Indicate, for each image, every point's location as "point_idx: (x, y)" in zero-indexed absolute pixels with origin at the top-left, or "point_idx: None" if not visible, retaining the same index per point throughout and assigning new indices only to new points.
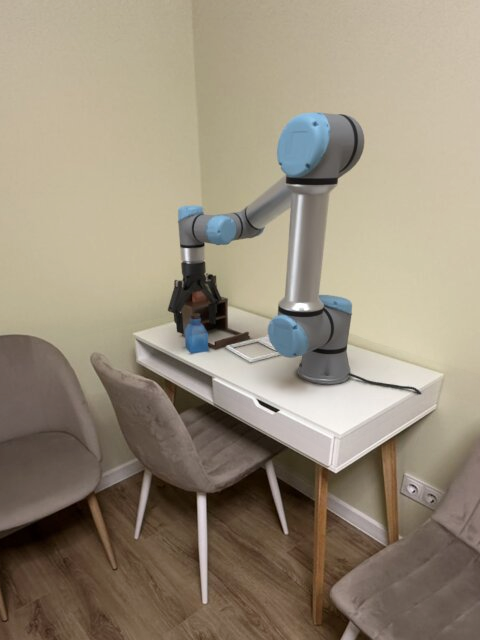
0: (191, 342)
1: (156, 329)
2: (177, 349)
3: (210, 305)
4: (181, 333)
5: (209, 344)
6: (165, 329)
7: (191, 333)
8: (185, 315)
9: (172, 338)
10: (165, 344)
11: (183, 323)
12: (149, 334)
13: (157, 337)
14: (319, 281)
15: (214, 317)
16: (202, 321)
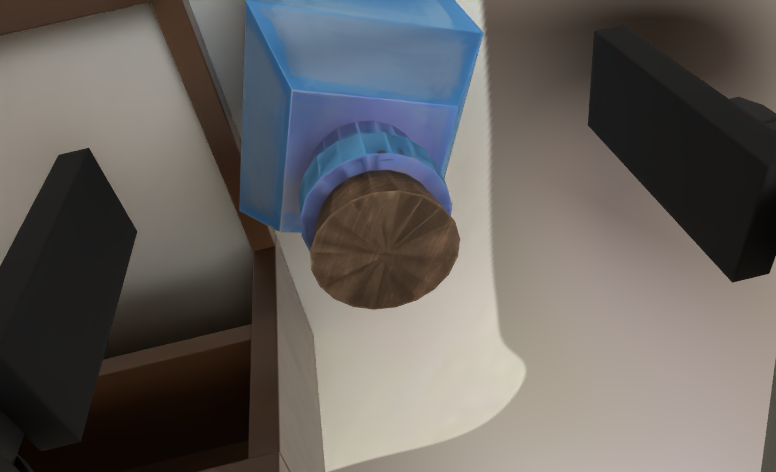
0: (447, 5)
1: (403, 447)
2: (471, 124)
3: (56, 393)
4: (622, 33)
5: (199, 50)
6: (359, 437)
7: (465, 46)
8: (309, 443)
9: (392, 316)
10: (487, 244)
11: (313, 396)
12: (475, 402)
13: (462, 355)
14: None
15: (54, 205)
16: (160, 363)
